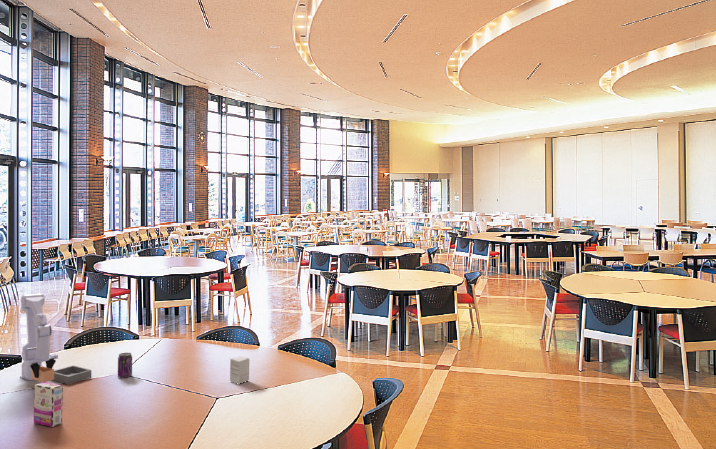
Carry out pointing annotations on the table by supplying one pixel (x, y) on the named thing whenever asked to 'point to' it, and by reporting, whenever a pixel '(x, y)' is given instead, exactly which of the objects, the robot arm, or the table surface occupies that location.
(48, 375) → the box
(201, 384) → the table surface
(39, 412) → the candy bar box
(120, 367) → the beverage can
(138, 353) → the table surface
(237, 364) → the grey drawer cabinet
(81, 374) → the big crate
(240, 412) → the table surface
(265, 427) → the table surface
